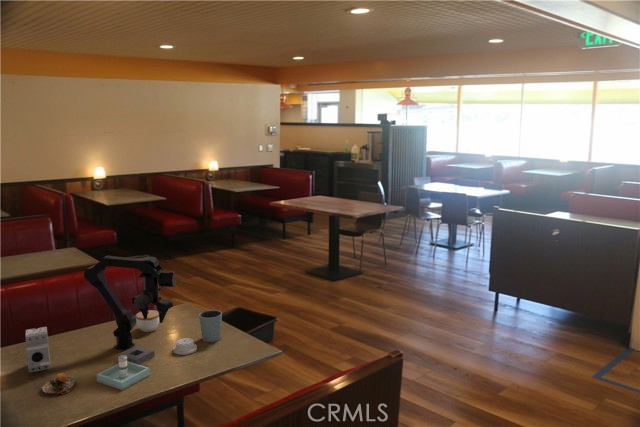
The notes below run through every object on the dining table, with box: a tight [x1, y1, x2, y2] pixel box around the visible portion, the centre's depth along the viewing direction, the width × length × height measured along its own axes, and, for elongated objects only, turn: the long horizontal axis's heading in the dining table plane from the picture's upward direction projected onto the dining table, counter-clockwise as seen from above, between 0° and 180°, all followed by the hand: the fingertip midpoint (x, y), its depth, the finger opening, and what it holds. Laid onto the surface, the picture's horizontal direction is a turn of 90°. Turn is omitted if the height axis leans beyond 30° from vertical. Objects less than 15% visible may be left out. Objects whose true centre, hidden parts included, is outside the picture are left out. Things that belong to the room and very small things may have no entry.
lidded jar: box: [135, 309, 160, 333], centre depth 254 cm, size 11×11×9 cm
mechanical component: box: [172, 337, 198, 356], centre depth 232 cm, size 10×4×10 cm
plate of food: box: [40, 371, 77, 397], centre depth 199 cm, size 12×12×8 cm
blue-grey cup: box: [198, 309, 223, 343], centre depth 244 cm, size 10×10×12 cm
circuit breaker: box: [25, 326, 51, 373], centre depth 212 cm, size 8×14×15 cm, turn 27°
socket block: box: [118, 345, 156, 365], centre depth 224 cm, size 10×10×2 cm
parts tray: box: [96, 361, 151, 391], centre depth 207 cm, size 14×14×3 cm
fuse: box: [117, 355, 128, 378], centre depth 206 cm, size 3×3×8 cm
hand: (153, 320), depth 233 cm, fingers open, 9 cm apart
